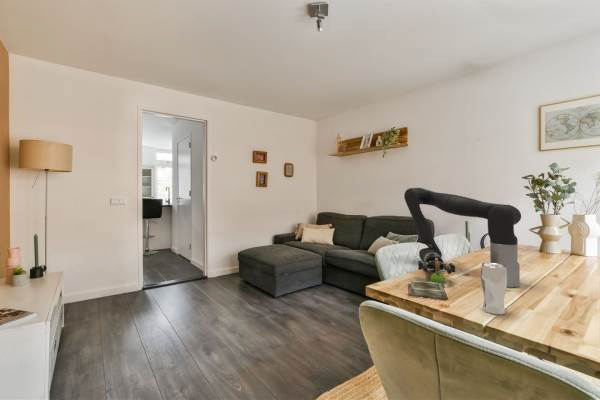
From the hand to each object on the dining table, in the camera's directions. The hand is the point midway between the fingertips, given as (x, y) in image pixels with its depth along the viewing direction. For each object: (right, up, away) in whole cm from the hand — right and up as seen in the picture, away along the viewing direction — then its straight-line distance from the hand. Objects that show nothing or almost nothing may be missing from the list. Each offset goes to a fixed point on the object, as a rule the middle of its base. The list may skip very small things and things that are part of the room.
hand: (437, 270), depth 113 cm
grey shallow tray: (-8, -7, -7) cm, 13 cm away
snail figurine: (+1, -7, +2) cm, 7 cm away
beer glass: (+6, -7, -24) cm, 26 cm away
